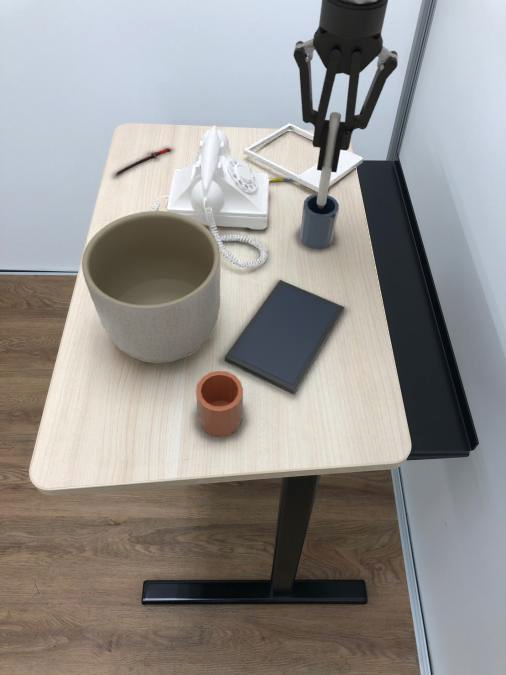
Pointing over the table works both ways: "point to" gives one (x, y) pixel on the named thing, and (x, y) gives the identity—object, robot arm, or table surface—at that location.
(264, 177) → the telephone
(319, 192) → the stylus
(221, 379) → the cup
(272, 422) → the table surface
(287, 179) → the pen
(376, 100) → the robot arm
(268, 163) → the photo frame
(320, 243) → the holder
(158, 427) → the table surface
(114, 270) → the planter
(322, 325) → the tablet
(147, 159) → the katana
